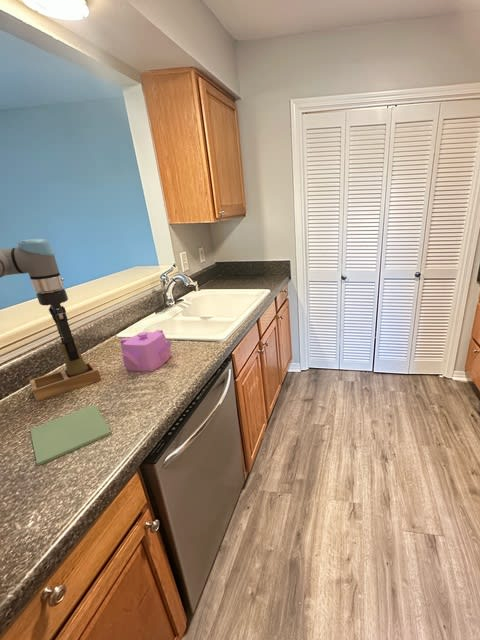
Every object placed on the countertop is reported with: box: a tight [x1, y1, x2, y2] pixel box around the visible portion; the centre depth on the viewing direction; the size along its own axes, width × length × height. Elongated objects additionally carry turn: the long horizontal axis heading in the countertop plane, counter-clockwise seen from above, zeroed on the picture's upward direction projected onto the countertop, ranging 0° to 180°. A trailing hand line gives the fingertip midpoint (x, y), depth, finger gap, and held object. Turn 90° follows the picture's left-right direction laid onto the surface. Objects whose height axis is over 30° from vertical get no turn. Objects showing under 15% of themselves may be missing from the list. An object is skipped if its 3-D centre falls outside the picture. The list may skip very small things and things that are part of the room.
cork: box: [59, 339, 88, 375], centre depth 110 cm, size 6×6×11 cm
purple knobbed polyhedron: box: [119, 329, 173, 373], centre depth 122 cm, size 17×17×12 cm
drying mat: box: [29, 403, 112, 466], centre depth 87 cm, size 18×16×1 cm
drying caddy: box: [29, 360, 102, 403], centre depth 110 cm, size 10×18×4 cm, turn 132°
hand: (73, 356), depth 110 cm, fingers closed on cork, 5 cm apart
